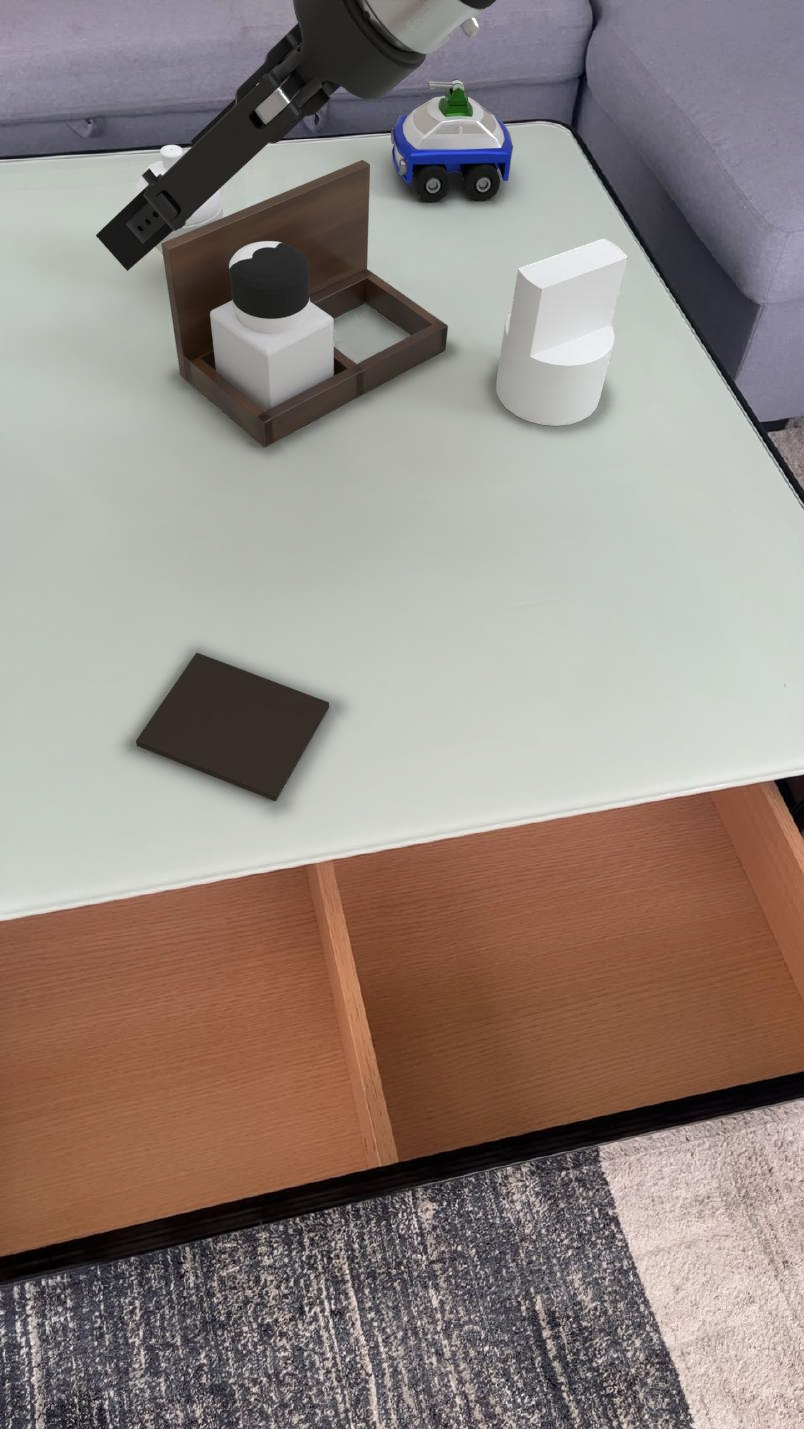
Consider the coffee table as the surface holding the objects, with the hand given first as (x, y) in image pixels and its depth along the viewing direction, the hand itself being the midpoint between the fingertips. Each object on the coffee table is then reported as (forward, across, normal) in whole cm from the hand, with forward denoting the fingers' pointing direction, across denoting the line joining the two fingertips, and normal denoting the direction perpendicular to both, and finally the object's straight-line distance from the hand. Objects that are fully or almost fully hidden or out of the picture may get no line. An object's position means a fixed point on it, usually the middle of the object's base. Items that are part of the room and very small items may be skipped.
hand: (162, 201), depth 71 cm
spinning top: (+19, +18, -7) cm, 27 cm away
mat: (+3, -25, -25) cm, 36 cm away
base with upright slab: (-6, +16, -31) cm, 36 cm away
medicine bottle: (+10, +7, -16) cm, 21 cm away
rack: (+8, +12, -18) cm, 23 cm away
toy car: (+6, +45, -18) cm, 49 cm away
